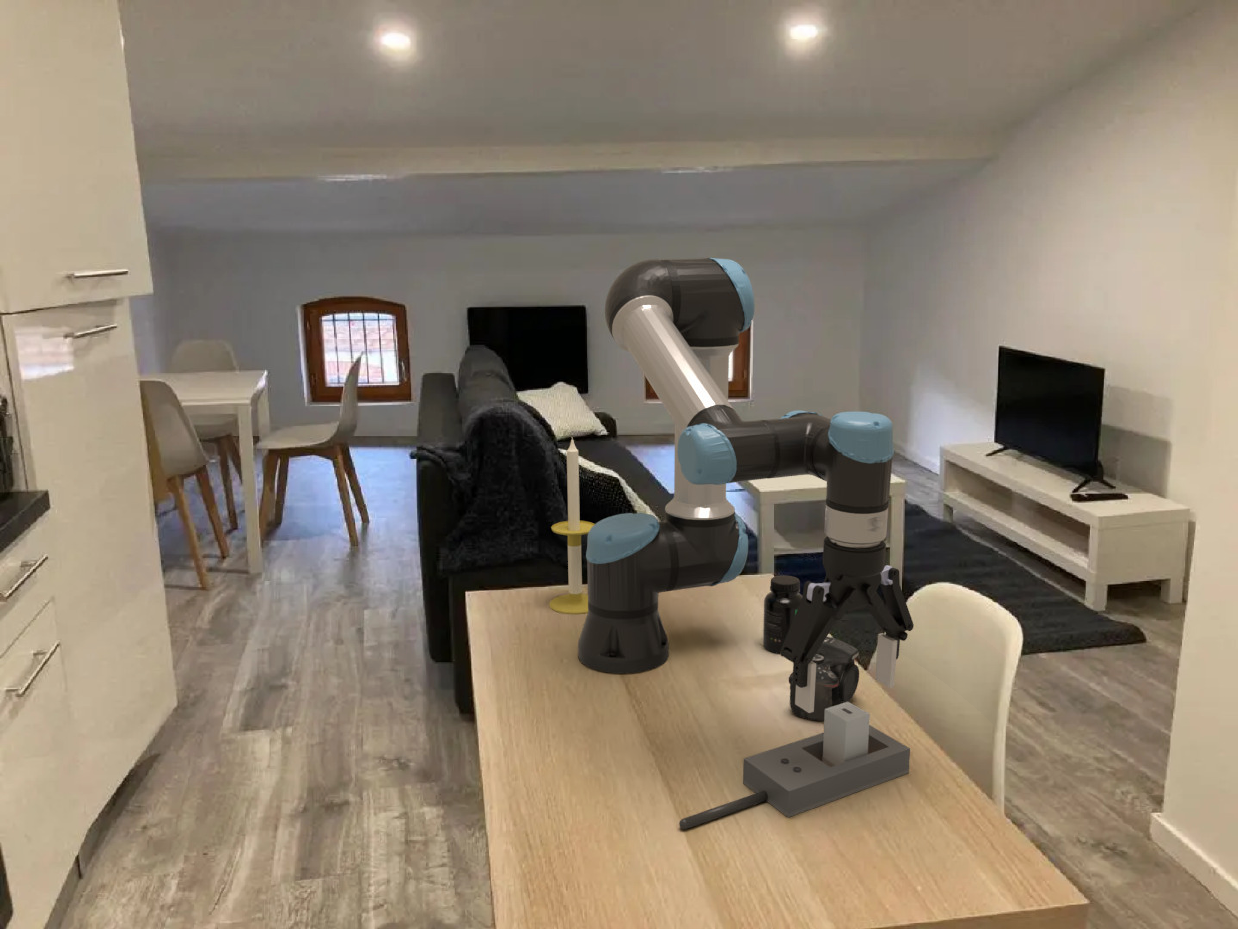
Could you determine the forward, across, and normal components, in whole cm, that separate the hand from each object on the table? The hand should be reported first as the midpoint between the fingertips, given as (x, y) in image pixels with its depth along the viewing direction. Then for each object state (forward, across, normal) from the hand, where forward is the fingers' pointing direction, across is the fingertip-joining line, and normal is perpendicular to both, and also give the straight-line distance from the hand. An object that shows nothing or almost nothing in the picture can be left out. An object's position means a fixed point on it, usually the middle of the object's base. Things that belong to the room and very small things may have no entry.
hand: (845, 695), depth 130 cm
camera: (+11, +11, +16) cm, 22 cm away
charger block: (+10, 0, -1) cm, 10 cm away
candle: (+13, -2, +71) cm, 72 cm away
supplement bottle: (+12, +19, +35) cm, 42 cm away
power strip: (+11, -9, -1) cm, 14 cm away
